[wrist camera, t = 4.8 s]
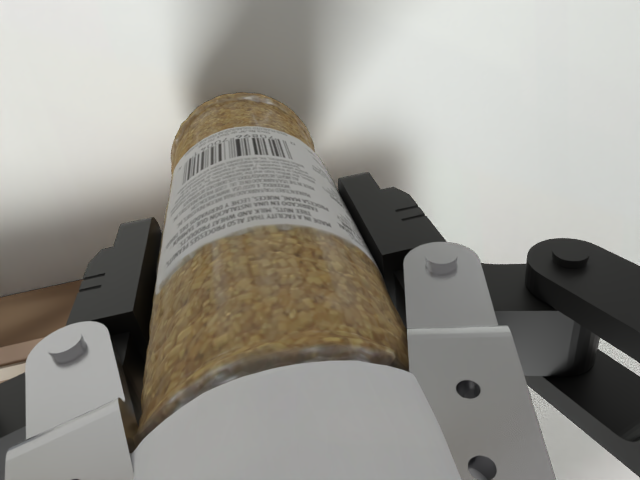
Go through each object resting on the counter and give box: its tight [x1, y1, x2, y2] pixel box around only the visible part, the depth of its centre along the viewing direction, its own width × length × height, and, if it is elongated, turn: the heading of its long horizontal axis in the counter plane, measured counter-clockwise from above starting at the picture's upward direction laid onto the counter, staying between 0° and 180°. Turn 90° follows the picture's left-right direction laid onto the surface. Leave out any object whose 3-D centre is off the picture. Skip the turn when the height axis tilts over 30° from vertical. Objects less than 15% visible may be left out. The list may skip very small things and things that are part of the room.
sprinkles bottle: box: [132, 92, 487, 480], centre depth 10 cm, size 5×5×14 cm
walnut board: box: [0, 279, 84, 383], centre depth 19 cm, size 24×8×3 cm, turn 98°
